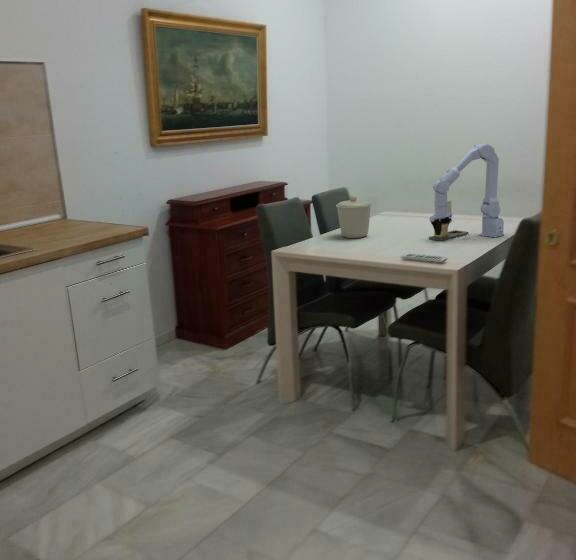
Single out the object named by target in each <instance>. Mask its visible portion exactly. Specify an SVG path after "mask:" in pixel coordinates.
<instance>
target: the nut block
mask: <svg viewBox="0 0 576 560" xmlns="http://www.w3.org/2000/svg"><path fill="white" fill-rule="evenodd" d="M448 232H449V226H448V223H442V224H441V229H440V235H436V234H435V231H434V230H433V236H434V237H437V238H445V237H448Z"/></svg>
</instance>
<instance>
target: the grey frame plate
mask: <svg viewBox="0 0 576 560" xmlns="http://www.w3.org/2000/svg"><path fill="white" fill-rule="evenodd" d="M458 233H459V234H458ZM467 234H468V235H469V231H465V230H464V231H463V230H456V229H454V230H448V237H445V238H437V237H434V235H431V236H428V240H430V241H437V242H447V241H448V240H454V239H456V237H457V238H460V236H461V237H464V236H468V235H467ZM463 235H464V236H463Z"/></svg>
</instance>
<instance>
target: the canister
mask: <svg viewBox="0 0 576 560" xmlns="http://www.w3.org/2000/svg"><path fill="white" fill-rule="evenodd" d="M372 205H373V203H371V202H370V201H369V200H363V199H358V197H357V195H354V194H353V195H350V196H349V199H348V200H343V201H339V202H338V203H337V204H336V205H335V207H336V209H337V216H338V222H339V223H338V224H339V228H340V233H341V235H342V237H344V238H347V239H360V238H361V239H362V238H364V237H366V236H367V235H368V234H369V228H370V219H371V218H370V216H371V206H372Z"/></svg>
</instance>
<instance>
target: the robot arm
mask: <svg viewBox="0 0 576 560" xmlns="http://www.w3.org/2000/svg"><path fill="white" fill-rule="evenodd" d="M479 159H482V161H484V163H486V170H485V188H484V191H485V192H484V197H483V199H482V204H481V205H480V212H481V213H482V218H481V219H482V220H481V221H482V222H481V225H482V227H481V229H482V230H481V232H482V233H478V236H481V235H482V236H481V237H488V236H489V238H497V237H501V236H504V235H505V233H504V227H505V226H504V224H505V223H504V219H503V218H501V217H499V215H500V213H501V207H500V205H499V204H500V202H499V199H498V197H497V196H498V178H499V176H498V175H499V157H498V155H497V152H496V151H495V147H493V146H492V145H491V144H489V143H482V142H477V143H475V144H474V145H473V147H471V148H470V149H469V150H468V151H467V152H466V154H465V155H463V157H462V158H461V159H460V161H459V162H458V163H457V164H456V165H455V166H454V167H450V168H448V169H446V173H444V174H443V175H442V176H440V177H439V180H436V181H435V182H434V185H433V186H432V189H433V191H434V214H433V215H432V216H430V217H429V222H430V223H431V225H432V228H433V232H434V231H435V234H436V235H440V229H441V224H442V223H448V227H449V226H450V224H451V222H452V221H451V220H452V217H453V213H452V212H451V213H447V199H448V191H449V190H450V187H451V186H452V185H453V184H454V183H455V182H456V180H458V179H459V177H460V176H461V174H460V173H461V172H462V171H463V170H464V169H465V168H466V167H467V166H468V165H469V164H470V163H472V161H476V160H479ZM449 217H451V218H449Z"/></svg>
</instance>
